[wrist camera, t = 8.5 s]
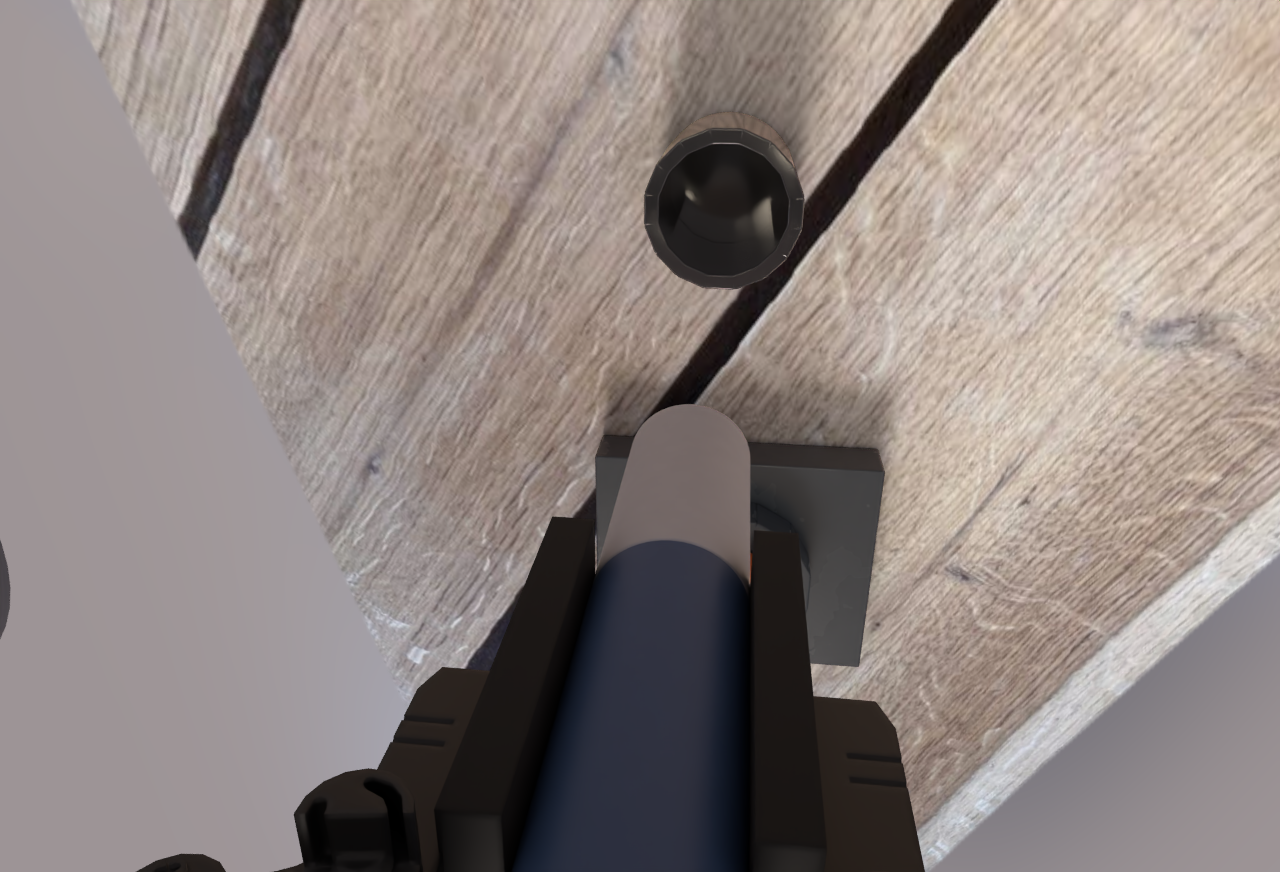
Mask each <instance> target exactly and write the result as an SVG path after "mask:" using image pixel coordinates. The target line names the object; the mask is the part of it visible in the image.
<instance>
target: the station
mask: <svg viewBox="0 0 1280 872" xmlns="http://www.w3.org/2000/svg"><path fill="white" fill-rule="evenodd" d="M634 438H635V437H627V436H607V435H604V436H603V437H602V440H601V443H600V445H599V448H598V451H597V454H596V456H595V466H596V525H597V567H598V563H599V560H600V556H601V553H602V549H603V546H604V542H605V539H606V535H607V532H608V528H609V525H610V521H611V518H612V514H613V511H614V507H615V503H616V500H617V496H618V493H619V489H620V486H621V482H622V479H623V475H624V472H625V468H626V465H627V461H628V458H629V454H630V451H631V447H632V444H633V441H634ZM748 447H749V451H750V553H753V540H754V530H759V531H774V532H788V533H798V534H799V545H800V556H801V567H802V578H803V589H804V600H805V611H806V622H807V633H808V644H809V655H810V663H812V664H826V665H839V666H853V667H858V666H859V663H860V655H861V648H862V640H863V633H864V625H865V618H866V610H867V603H868V595H869V588H870V580H871V573H872V565H873V558H874V550H875V543H876V535H877V528H878V521H879V513H880V506H881V498H882V491H883V483H884V476H885V471H884V468H883V465H882V461H881V458H880V455H879V451H878V450H877V449H861V448H841V447H822V446H802V445H783V444H763V443H748Z"/></svg>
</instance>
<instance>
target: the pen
mask: <svg viewBox="0 0 1280 872" xmlns="http://www.w3.org/2000/svg"><path fill="white" fill-rule="evenodd" d="M749 707H750V451H749V447H748V443H747V441H746V439H745V436H744V435H743V433H742V431H741V430H740V428H739V427H738V426H737V425H736V424H735V423H734V422H733V421H732V420H731V419H730V418H728V417H727V416H726V415H724V414H723V413H721V412H719V411H717V410H715V409H712V408H709V407H706V406H702V405H695V404H683V405H676V406H672V407H668V408H666V409H663V410H661V411H659V412H657V413H655V414H654V415H653V416H651V417H650V418H649V419H648V420H647V421H646V422H645V423H643V425H642V426H641V427H640V429H639V430H638V432H637V434H636V435H635V438H634V441H633V444H632V447H631V451H630V454H629V458H628V461H627V465H626V468H625V472H624V475H623V479H622V482H621V486H620V489H619V493H618V496H617V500H616V503H615V507H614V511H613V514H612V518H611V521H610V525H609V528H608V532H607V535H606V539H605V542H604V546H603V549H602V553H601V556H600V560H599V563H598V567H597V570H596V574H595V578H594V581H593V585H592V588H591V592H590V595H589V599H588V602H587V606H586V609H585V613H584V616H583V620H582V623H581V627H580V630H579V634H578V637H577V641H576V645H575V648H574V652H573V655H572V659H571V662H570V666H569V669H568V673H567V676H566V680H565V683H564V687H563V690H562V694H561V697H560V701H559V704H558V708H557V712H556V715H555V719H554V722H553V726H552V729H551V733H550V736H549V740H548V743H547V747H546V750H545V754H544V757H543V761H542V764H541V768H540V771H539V775H538V779H537V782H536V786H535V789H534V793H533V796H532V800H531V803H530V807H529V810H528V814H527V817H526V821H525V824H524V828H523V831H522V835H521V838H520V842H519V846H518V849H517V853H516V856H515V860H514V863H513V867H512V870H511V872H749Z"/></svg>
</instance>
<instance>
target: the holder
mask: <svg viewBox="0 0 1280 872" xmlns="http://www.w3.org/2000/svg"><path fill="white" fill-rule="evenodd" d="M803 212H804V194H803V191H802V187H801V184H800V181H799V178H798V175H797V172H796V169H795V166H794V163H793V160H792V157H791V154H790V151H789V148H788V147H787V145H786V144H785V142H784V141H783V139H782V138H781V137H780V135H779V134H778V133H777V132H776V131H775V130H774V129H773V128H772V127H770V126H769V125H768V124H766V123H765V122H763V121H762V120H760V119H758V118H756V117H753V116H751V115H748V114H744V113H739V112H720V113H715V114H711V115H708V116H705V117H702V118H700V119H698V120H696V121H695V122H693V123H692V124H690V125H689V126H687V127H686V128H685V129H684V130H683V131H682V132H681V133H680V134H679V135H678V136H677V137H676V138H675V140H674V141H673V142H672V143H671V144H670V145H669V146H668V148H667V149H666V151H665V152H664V154H663V155H662V157H661V158H660V160H659V161H658V163H657V164H656V166H655V169H654V171H653V173H652V176H651V178H650V181H649V183H648V185H647V188H646V190H645V195H644V224H645V229H646V231H647V234H648V236H649V239H650V241H651V244H652V246H653V249H654V252H655V253H656V255H657V256H658V257H659V258H660V259H661V260H662V261H663V262H664V263H665V264H666V265H667V267H668V268H669V269H670V270H671V271H672V272H673V273H674V274H675V275H677V276H678V277H680V278H682V279H684V280H687V281H689V282H691V283H693V284H695V285H698V286H700V287H702V288H706V289H738V288H741V287H743V286H746V285H749V284H752V283H755V282H757V281H760V280H763V279H764V278H766V277H767V276H768V275H769V274H770V273H772V272H773V271H774V270H775V269H776V268H777V267H778V266H779V265H781V264H782V263H783V262H784V261H785V260H786V259H787V257H788V256H789V254H790V252H791V250H792V249H793V247H794V245H795V243H796V241H797V239H798V237H799V235H800V233H801V229H802V224H803Z"/></svg>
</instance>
